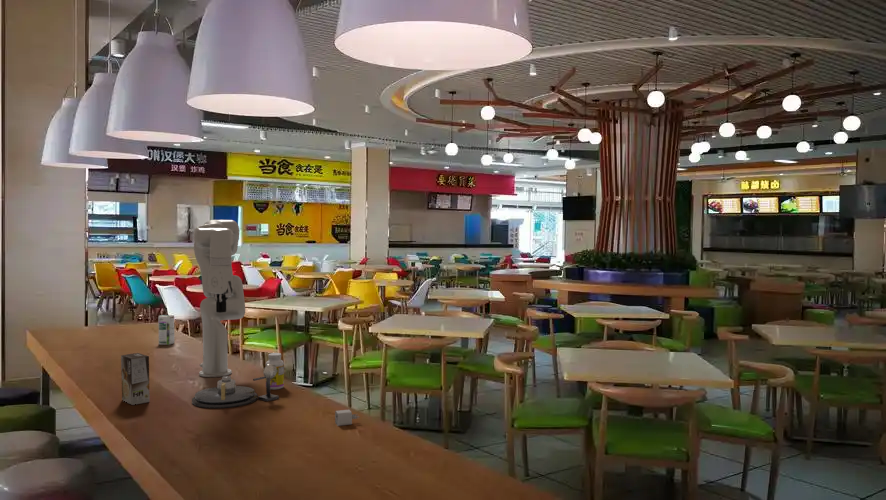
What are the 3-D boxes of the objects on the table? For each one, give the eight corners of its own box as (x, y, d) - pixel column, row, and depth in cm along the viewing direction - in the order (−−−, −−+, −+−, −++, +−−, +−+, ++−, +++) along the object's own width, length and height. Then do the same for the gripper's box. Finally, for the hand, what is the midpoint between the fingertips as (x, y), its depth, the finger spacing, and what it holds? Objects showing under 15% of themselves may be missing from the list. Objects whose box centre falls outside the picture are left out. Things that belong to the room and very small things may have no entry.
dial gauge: (249, 401, 239) (249, 366, 238) (269, 396, 246) (269, 361, 245) (258, 403, 236) (258, 367, 235) (278, 398, 243) (278, 363, 242)
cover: (217, 395, 237) (217, 379, 237) (217, 391, 243) (217, 375, 243) (235, 393, 239) (235, 378, 239) (235, 389, 245) (235, 374, 245)
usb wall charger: (335, 422, 214) (335, 410, 214) (356, 420, 217) (356, 408, 217) (338, 426, 211) (338, 413, 210) (360, 424, 213) (360, 411, 213)
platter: (191, 405, 228) (191, 387, 228) (198, 390, 248) (197, 373, 248) (253, 401, 233) (253, 383, 233) (255, 387, 253) (255, 371, 252)
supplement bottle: (262, 388, 257) (261, 354, 256) (274, 384, 263) (273, 351, 262) (275, 390, 254) (275, 356, 253) (287, 387, 260) (287, 353, 259)
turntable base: (178, 401, 238) (178, 398, 238) (232, 389, 256) (232, 386, 256) (217, 412, 225) (217, 409, 225) (270, 398, 243) (270, 395, 243)
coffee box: (150, 402, 238) (150, 356, 237) (131, 405, 233) (131, 358, 232) (139, 397, 244) (138, 352, 243) (120, 400, 239) (120, 354, 238)
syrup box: (158, 344, 345) (157, 316, 345) (164, 342, 351) (164, 314, 350) (168, 345, 344) (168, 316, 344) (175, 343, 350) (174, 314, 349)
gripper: (199, 262, 254) (200, 311, 255) (224, 264, 245) (225, 315, 246) (217, 261, 260) (217, 309, 261) (242, 263, 251) (242, 312, 252)
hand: (221, 312), depth 253 cm, fingers closed
